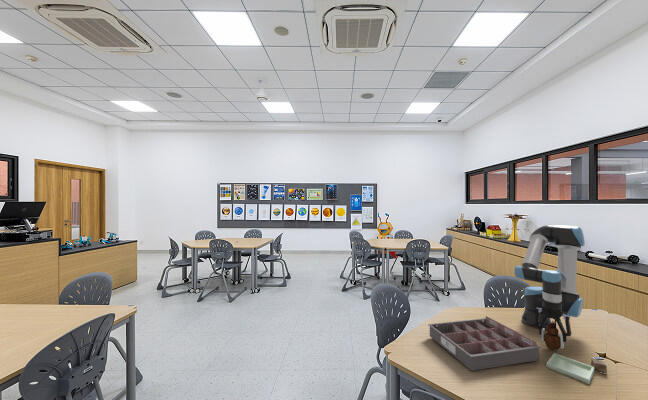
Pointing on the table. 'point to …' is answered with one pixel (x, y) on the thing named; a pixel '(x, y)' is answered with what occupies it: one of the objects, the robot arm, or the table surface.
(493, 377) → the table surface
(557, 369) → the green tray
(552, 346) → the wooden figurine
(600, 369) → the walnut cube
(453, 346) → the organizer tray
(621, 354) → the table surface
